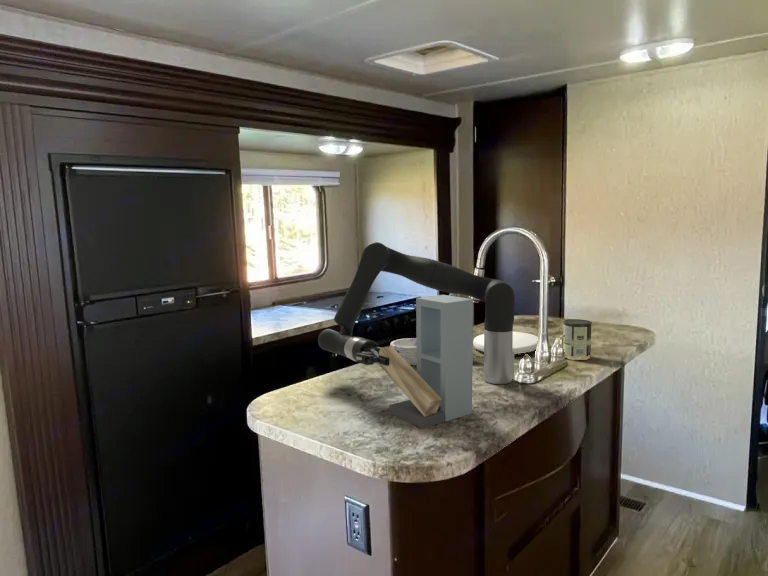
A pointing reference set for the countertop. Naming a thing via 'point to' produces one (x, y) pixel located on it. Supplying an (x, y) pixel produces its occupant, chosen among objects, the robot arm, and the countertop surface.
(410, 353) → the white bowl
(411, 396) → the maple bar
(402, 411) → the charcoal block
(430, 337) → the slate stand
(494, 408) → the countertop surface
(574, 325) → the coffee can
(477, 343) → the plate
